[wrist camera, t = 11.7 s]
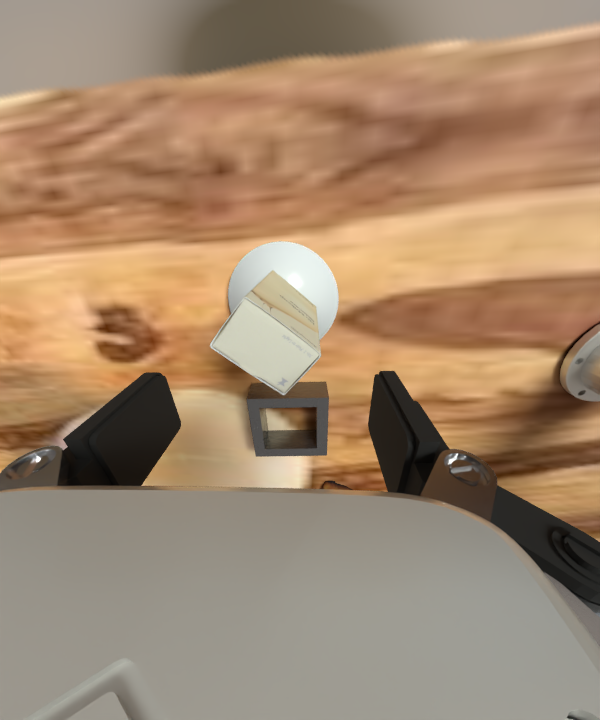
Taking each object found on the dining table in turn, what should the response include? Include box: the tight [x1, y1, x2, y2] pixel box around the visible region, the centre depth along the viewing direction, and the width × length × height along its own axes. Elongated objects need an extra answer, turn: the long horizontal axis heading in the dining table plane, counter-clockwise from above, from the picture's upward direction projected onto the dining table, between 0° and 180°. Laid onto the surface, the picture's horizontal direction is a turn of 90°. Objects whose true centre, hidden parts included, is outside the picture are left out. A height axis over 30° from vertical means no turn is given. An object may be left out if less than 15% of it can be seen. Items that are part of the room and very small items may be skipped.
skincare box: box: [210, 270, 321, 395], centre depth 20 cm, size 6×4×12 cm
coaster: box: [228, 241, 338, 340], centre depth 26 cm, size 12×12×1 cm
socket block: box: [247, 382, 329, 456], centre depth 33 cm, size 10×10×4 cm
